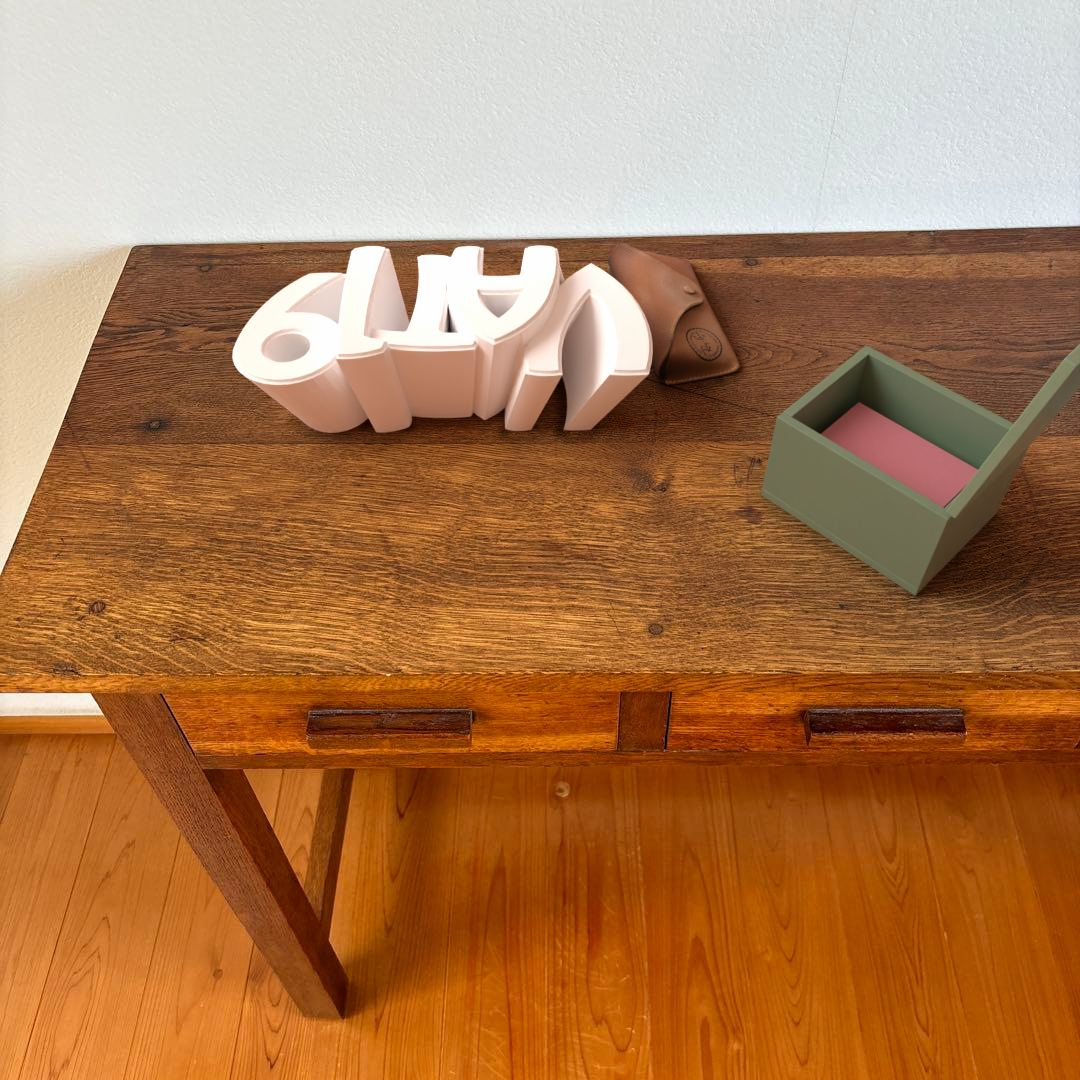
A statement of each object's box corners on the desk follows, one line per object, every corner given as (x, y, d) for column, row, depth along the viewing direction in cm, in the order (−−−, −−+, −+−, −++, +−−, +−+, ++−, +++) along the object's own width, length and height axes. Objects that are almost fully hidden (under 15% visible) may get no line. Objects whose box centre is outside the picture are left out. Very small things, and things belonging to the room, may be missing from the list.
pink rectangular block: (963, 510, 80) (981, 471, 77) (914, 559, 77) (929, 520, 74) (847, 441, 86) (859, 401, 82) (796, 484, 83) (806, 445, 79)
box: (760, 495, 83) (776, 416, 76) (844, 424, 88) (866, 344, 81) (915, 596, 76) (948, 520, 69) (996, 513, 81) (1034, 434, 74)
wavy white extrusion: (648, 337, 96) (655, 241, 88) (646, 463, 86) (653, 367, 78) (287, 328, 99) (261, 233, 90) (242, 449, 88) (208, 354, 80)
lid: (1064, 358, 56) (1077, 366, 56) (1160, 267, 61) (1172, 274, 61) (945, 512, 69) (954, 519, 69) (1032, 426, 74) (1041, 433, 74)
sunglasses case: (748, 367, 92) (719, 323, 87) (681, 408, 94) (649, 367, 89) (686, 254, 103) (657, 210, 99) (627, 293, 105) (596, 251, 101)
